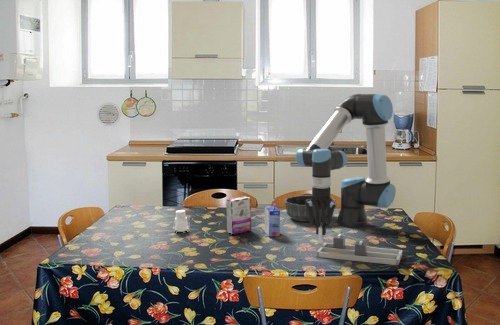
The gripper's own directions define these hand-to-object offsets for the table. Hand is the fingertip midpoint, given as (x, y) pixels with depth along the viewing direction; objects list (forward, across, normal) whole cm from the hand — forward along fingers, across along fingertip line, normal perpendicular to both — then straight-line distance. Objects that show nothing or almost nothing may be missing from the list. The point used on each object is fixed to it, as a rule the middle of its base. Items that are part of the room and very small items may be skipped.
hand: (320, 242), depth 237 cm
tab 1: (+3, +8, 0) cm, 8 cm away
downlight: (+5, -71, +11) cm, 72 cm away
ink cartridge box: (+5, -28, +20) cm, 35 cm away
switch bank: (+4, +17, -3) cm, 18 cm away
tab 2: (+3, +18, -6) cm, 19 cm away
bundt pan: (+5, -20, +54) cm, 58 cm away
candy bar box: (+5, -44, +18) cm, 48 cm away
